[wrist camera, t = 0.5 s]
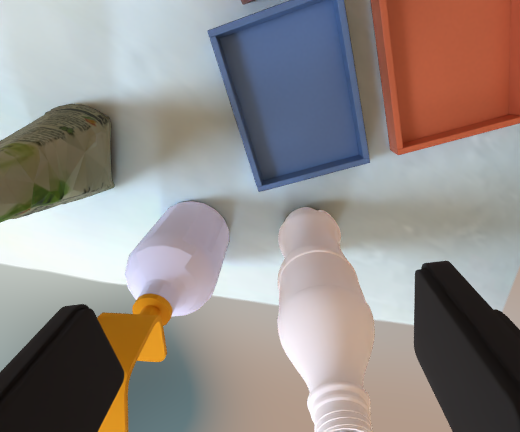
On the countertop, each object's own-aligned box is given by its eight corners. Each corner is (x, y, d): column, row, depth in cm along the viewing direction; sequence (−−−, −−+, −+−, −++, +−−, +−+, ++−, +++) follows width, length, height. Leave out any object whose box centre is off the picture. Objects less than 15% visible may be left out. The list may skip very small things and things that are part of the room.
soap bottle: (164, 260, 42) (32, 473, 19) (156, 198, 38) (-20, 371, 16) (230, 263, 41) (172, 484, 19) (228, 200, 38) (153, 382, 15)
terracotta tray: (367, -23, 28) (375, -32, 26) (515, -77, 26) (538, -92, 23) (390, 150, 34) (397, 155, 32) (511, 117, 32) (529, 120, 30)
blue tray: (212, 34, 30) (207, 30, 28) (336, -12, 28) (341, -19, 26) (260, 185, 36) (258, 192, 34) (364, 157, 34) (370, 162, 32)
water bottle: (343, 207, 37) (444, 414, 14) (327, 256, 40) (389, 494, 17) (285, 195, 37) (293, 386, 14) (273, 246, 40) (263, 472, 17)
